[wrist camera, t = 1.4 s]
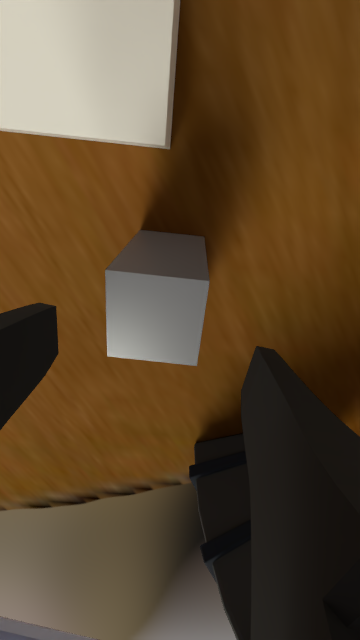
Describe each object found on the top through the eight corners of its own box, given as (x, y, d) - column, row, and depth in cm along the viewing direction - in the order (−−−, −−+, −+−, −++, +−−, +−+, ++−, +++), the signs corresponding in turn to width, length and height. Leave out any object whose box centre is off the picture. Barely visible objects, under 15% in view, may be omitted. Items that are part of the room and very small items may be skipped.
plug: (138, 289, 20) (107, 356, 13) (140, 229, 18) (105, 269, 11) (196, 295, 20) (196, 365, 13) (204, 236, 18) (209, 281, 11)
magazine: (156, 462, 26) (259, 716, 13) (277, 388, 29) (465, 532, 15) (171, 488, 27) (276, 737, 14) (284, 415, 30) (460, 568, 17)
